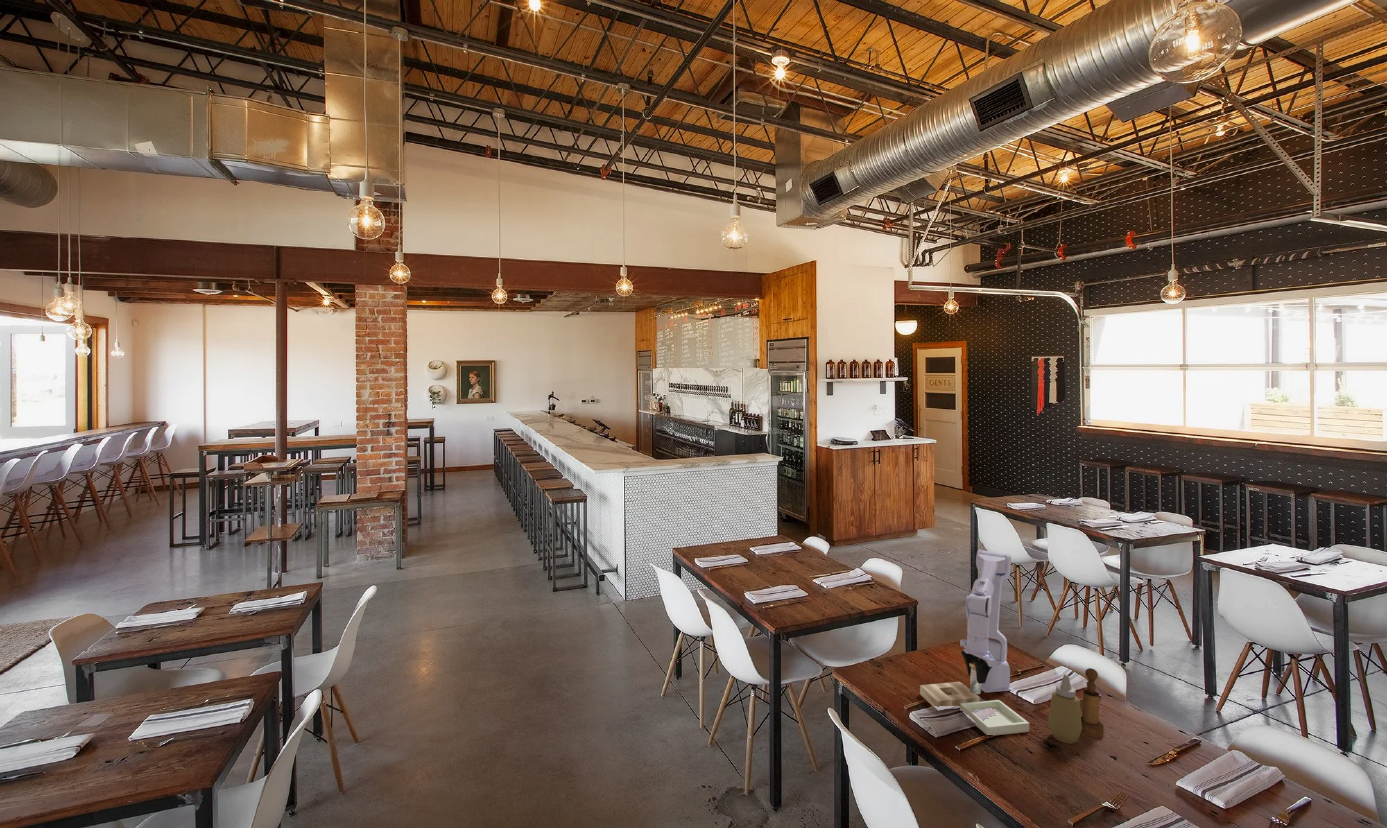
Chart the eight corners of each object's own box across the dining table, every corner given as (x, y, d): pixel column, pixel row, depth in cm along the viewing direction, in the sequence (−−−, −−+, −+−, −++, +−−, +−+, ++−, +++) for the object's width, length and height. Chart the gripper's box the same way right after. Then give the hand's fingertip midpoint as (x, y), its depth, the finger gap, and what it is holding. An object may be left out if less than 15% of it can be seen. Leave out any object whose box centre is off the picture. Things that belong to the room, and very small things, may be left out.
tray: (998, 707, 185) (999, 699, 185) (1029, 731, 172) (1029, 723, 172) (960, 711, 183) (960, 703, 183) (988, 735, 170) (988, 727, 170)
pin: (977, 687, 184) (979, 660, 183) (985, 694, 180) (987, 666, 179) (965, 688, 184) (966, 660, 183) (972, 695, 180) (974, 667, 179)
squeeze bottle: (1048, 741, 167) (1050, 678, 166) (1047, 727, 174) (1048, 666, 174) (1083, 749, 163) (1084, 684, 163) (1080, 734, 171) (1081, 672, 170)
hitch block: (959, 690, 195) (960, 681, 195) (979, 706, 186) (979, 697, 185) (920, 694, 193) (920, 685, 193) (937, 710, 183) (937, 701, 183)
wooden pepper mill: (1108, 738, 169) (1109, 675, 168) (1082, 736, 170) (1084, 673, 169) (1097, 725, 175) (1099, 664, 174) (1072, 723, 176) (1074, 662, 176)
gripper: (951, 626, 187) (950, 669, 188) (980, 646, 173) (979, 692, 174) (972, 624, 188) (971, 667, 189) (1002, 644, 174) (1001, 690, 175)
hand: (976, 679), depth 181 cm, fingers closed on pin, 4 cm apart
